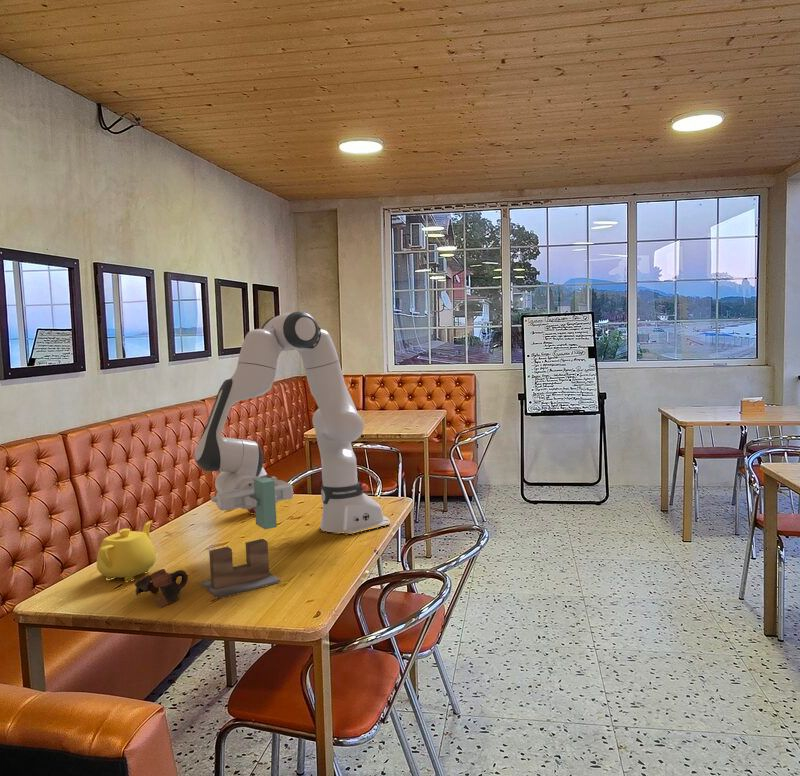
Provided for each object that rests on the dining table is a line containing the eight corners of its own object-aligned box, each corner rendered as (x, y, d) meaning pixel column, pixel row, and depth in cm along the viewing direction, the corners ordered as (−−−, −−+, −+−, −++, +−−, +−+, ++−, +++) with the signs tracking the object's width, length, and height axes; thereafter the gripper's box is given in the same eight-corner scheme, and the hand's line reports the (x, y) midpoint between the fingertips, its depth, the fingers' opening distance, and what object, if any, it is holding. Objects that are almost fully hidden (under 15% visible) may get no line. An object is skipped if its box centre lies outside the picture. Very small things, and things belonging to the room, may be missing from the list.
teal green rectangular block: (255, 524, 169) (253, 478, 168) (267, 521, 171) (265, 477, 170) (264, 529, 164) (262, 482, 163) (276, 527, 166) (274, 480, 165)
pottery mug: (148, 615, 148) (132, 582, 149) (144, 619, 155) (129, 588, 157) (197, 588, 154) (182, 557, 156) (191, 593, 162) (176, 564, 163)
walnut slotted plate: (201, 584, 164) (199, 547, 163) (261, 569, 172) (259, 533, 172) (217, 599, 154) (215, 559, 153) (280, 582, 163) (278, 544, 162)
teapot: (174, 562, 181) (171, 519, 180) (124, 590, 162) (120, 541, 161) (134, 559, 185) (131, 517, 184) (80, 586, 165) (76, 539, 164)
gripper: (207, 486, 172) (225, 496, 160) (279, 475, 183) (301, 483, 172) (209, 509, 172) (227, 521, 161) (280, 497, 184) (302, 506, 172)
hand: (266, 501), depth 166 cm, fingers closed on teal green rectangular block, 3 cm apart
